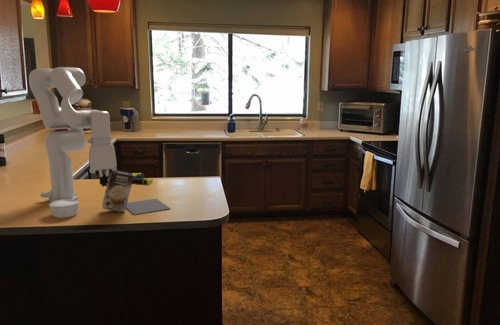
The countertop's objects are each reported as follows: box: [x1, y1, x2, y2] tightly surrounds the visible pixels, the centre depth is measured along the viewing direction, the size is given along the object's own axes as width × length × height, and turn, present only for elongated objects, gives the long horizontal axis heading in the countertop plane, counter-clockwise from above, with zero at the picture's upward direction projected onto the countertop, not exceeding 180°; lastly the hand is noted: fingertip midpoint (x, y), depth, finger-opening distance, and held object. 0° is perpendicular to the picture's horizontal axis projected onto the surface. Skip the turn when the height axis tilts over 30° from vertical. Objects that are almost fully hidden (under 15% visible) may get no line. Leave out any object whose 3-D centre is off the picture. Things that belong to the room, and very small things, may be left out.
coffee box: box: [101, 169, 134, 213], centre depth 177 cm, size 9×6×16 cm
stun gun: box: [131, 172, 153, 185], centre depth 233 cm, size 3×19×15 cm
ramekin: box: [48, 199, 80, 219], centre depth 173 cm, size 11×11×5 cm
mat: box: [126, 198, 171, 216], centre depth 185 cm, size 16×18×1 cm
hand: (104, 185), depth 174 cm, fingers closed
